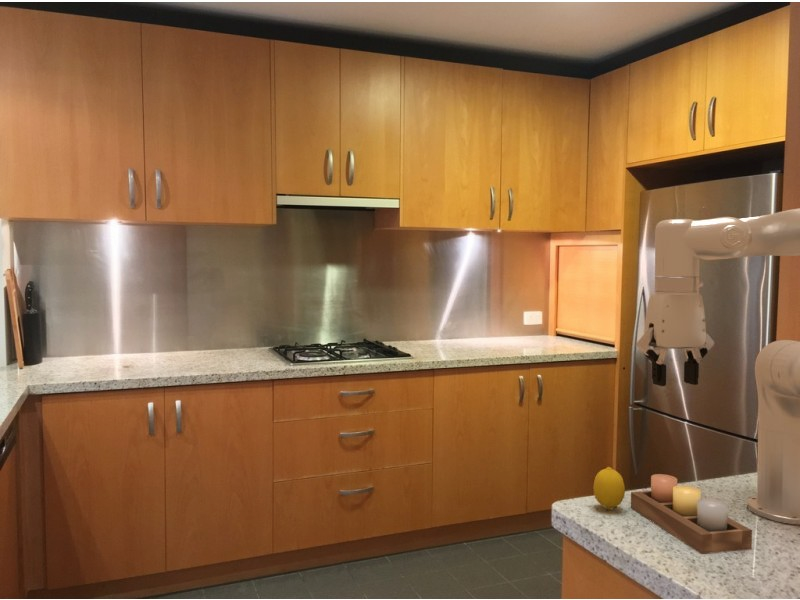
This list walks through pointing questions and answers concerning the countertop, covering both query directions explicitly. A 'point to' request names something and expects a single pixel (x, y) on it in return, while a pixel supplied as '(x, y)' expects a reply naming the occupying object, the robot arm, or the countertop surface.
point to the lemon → (609, 488)
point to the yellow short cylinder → (685, 500)
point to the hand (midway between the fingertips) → (675, 383)
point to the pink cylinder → (662, 487)
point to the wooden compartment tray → (691, 526)
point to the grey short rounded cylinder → (712, 514)
